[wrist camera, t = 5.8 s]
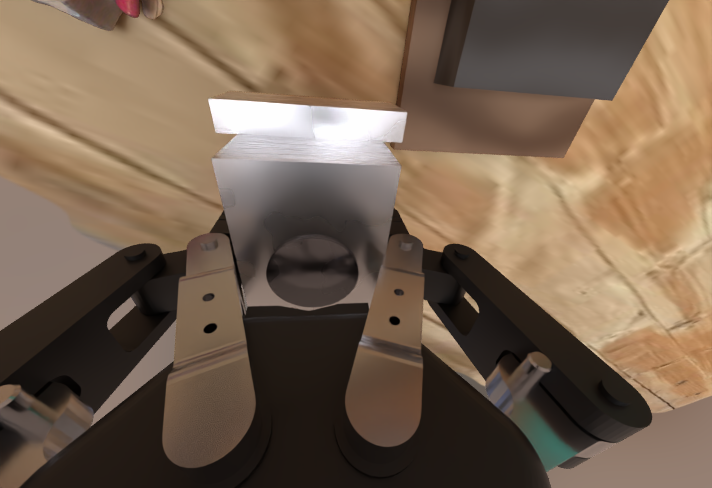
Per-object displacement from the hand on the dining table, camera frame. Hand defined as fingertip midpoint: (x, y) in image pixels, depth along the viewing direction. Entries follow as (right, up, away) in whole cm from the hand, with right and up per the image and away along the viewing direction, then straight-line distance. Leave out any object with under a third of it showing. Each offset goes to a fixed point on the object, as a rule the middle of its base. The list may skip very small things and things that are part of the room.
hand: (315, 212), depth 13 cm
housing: (0, 0, 0) cm, 0 cm away
